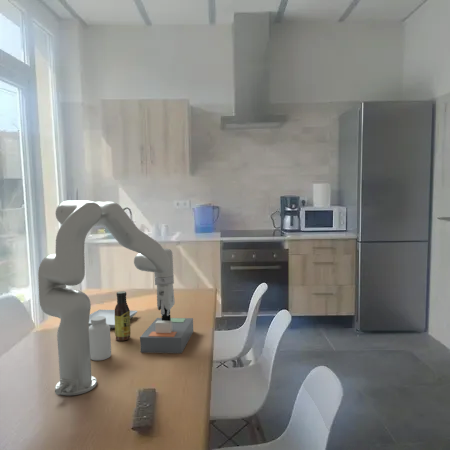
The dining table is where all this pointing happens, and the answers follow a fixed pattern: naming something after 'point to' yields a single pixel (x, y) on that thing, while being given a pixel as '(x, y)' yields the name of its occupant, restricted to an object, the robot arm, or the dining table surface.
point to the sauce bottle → (122, 317)
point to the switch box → (167, 337)
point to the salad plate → (108, 316)
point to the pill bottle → (99, 339)
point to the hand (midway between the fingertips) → (166, 324)
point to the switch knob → (163, 326)
